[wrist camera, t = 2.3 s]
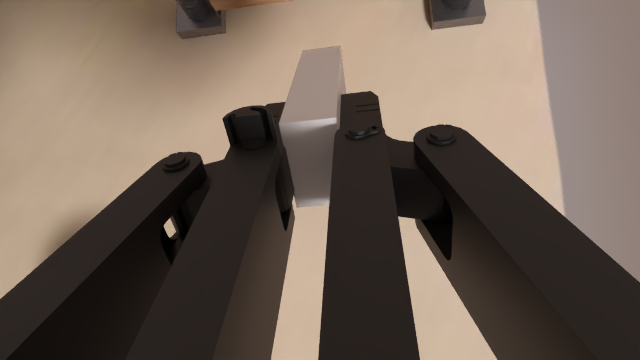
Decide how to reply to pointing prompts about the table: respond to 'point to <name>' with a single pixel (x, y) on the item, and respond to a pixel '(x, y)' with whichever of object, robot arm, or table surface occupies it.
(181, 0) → the gate frame
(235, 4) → the gate
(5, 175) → the table surface
